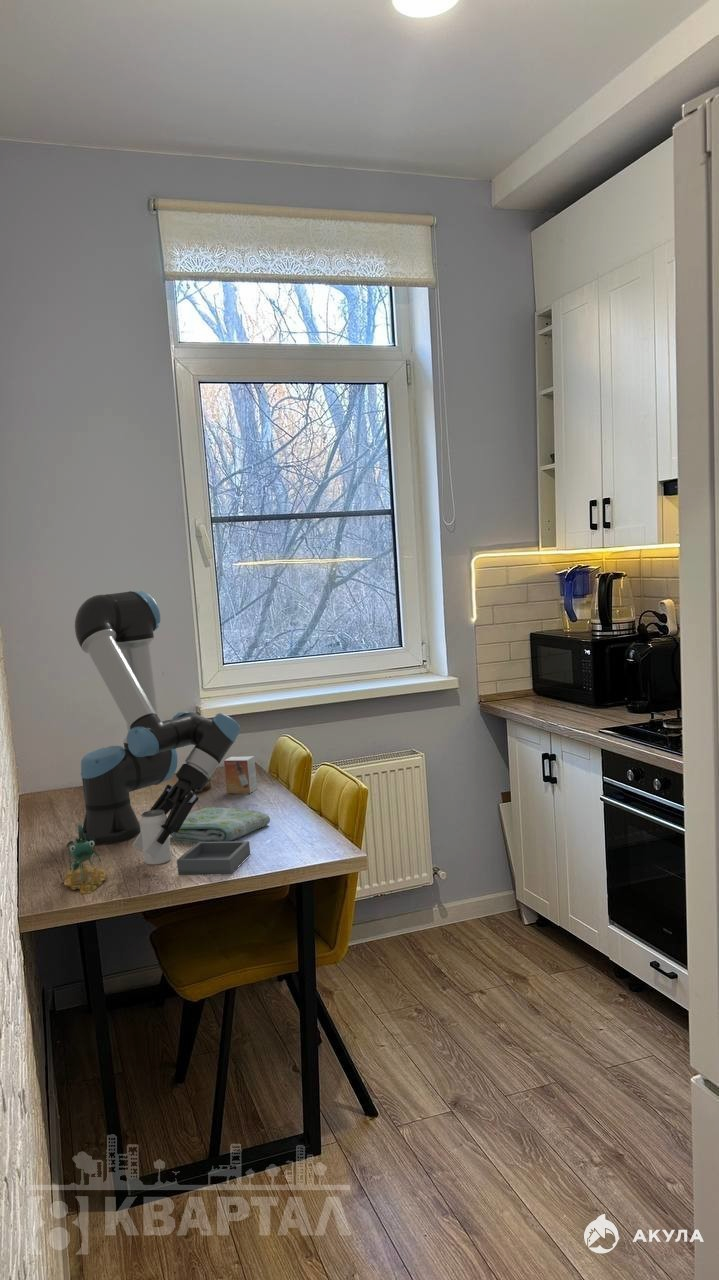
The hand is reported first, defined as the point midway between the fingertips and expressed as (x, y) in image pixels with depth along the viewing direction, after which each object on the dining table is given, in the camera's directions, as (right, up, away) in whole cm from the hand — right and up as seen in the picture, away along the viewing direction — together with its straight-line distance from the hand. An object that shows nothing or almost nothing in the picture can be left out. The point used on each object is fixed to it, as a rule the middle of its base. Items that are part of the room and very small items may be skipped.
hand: (143, 850), depth 223 cm
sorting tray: (+18, -2, -4) cm, 19 cm away
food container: (+3, +3, +70) cm, 70 cm away
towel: (+15, -1, +22) cm, 27 cm away
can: (+3, -3, +2) cm, 5 cm away
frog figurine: (-11, -6, -8) cm, 15 cm away
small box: (+16, +4, +63) cm, 65 cm away
